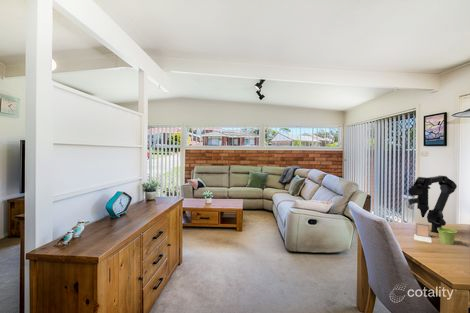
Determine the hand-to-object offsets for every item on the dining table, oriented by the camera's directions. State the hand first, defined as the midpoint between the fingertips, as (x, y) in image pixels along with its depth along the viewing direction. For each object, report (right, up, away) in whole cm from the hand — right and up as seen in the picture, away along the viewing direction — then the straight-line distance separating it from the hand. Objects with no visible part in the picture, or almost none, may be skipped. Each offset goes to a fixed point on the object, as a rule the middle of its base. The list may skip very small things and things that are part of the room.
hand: (422, 217), depth 169 cm
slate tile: (-4, -12, -5) cm, 13 cm away
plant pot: (+2, -13, -17) cm, 21 cm away
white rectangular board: (-7, -12, -9) cm, 17 cm away
